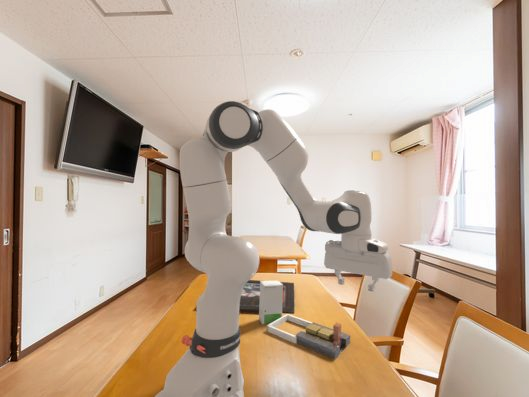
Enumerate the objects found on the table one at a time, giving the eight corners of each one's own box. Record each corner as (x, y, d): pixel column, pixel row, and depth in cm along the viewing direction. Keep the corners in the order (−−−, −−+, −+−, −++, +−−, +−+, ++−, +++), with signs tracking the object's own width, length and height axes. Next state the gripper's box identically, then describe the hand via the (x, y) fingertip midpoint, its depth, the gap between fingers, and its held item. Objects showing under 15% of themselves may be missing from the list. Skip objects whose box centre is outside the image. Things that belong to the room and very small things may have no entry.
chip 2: (328, 348, 81) (328, 335, 81) (317, 343, 84) (317, 331, 84) (333, 343, 84) (334, 331, 85) (322, 339, 87) (323, 327, 87)
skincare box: (262, 326, 97) (263, 285, 98) (258, 318, 104) (259, 280, 104) (282, 324, 99) (283, 284, 100) (277, 316, 106) (278, 279, 106)
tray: (295, 346, 84) (296, 337, 84) (266, 333, 92) (266, 325, 92) (314, 331, 94) (315, 323, 94) (287, 321, 102) (287, 313, 102)
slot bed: (335, 362, 76) (335, 350, 76) (295, 345, 85) (295, 334, 85) (350, 345, 85) (350, 335, 85) (312, 331, 94) (313, 322, 94)
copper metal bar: (336, 351, 79) (336, 328, 80) (331, 349, 80) (332, 326, 81) (342, 345, 83) (342, 323, 83) (337, 343, 84) (337, 321, 84)
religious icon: (218, 282, 151) (218, 277, 151) (293, 287, 147) (294, 281, 147) (193, 311, 111) (193, 304, 111) (295, 318, 107) (296, 311, 107)
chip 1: (316, 343, 84) (316, 331, 84) (305, 339, 87) (305, 327, 87) (321, 338, 87) (321, 326, 87) (311, 334, 90) (311, 323, 90)
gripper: (320, 240, 83) (320, 282, 83) (388, 248, 70) (388, 298, 70) (329, 238, 88) (329, 278, 88) (393, 245, 75) (393, 292, 75)
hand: (355, 287), depth 78 cm, fingers open, 8 cm apart
